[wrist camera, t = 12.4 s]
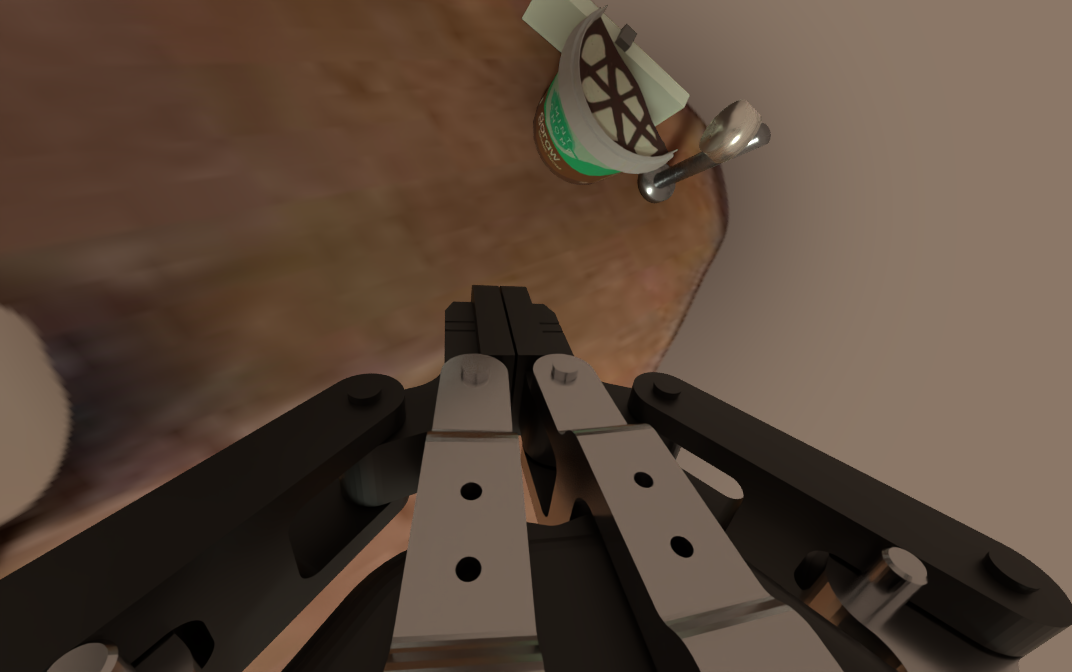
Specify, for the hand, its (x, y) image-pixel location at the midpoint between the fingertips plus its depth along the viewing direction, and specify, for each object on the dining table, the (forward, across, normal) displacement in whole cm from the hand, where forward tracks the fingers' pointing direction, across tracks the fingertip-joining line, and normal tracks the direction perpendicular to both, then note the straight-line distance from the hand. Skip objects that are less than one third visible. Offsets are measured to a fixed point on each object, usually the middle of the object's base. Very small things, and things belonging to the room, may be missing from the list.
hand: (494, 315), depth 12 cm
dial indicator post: (+32, -20, +1) cm, 38 cm away
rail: (+36, -12, -8) cm, 39 cm away
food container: (+32, -9, -1) cm, 33 cm away
